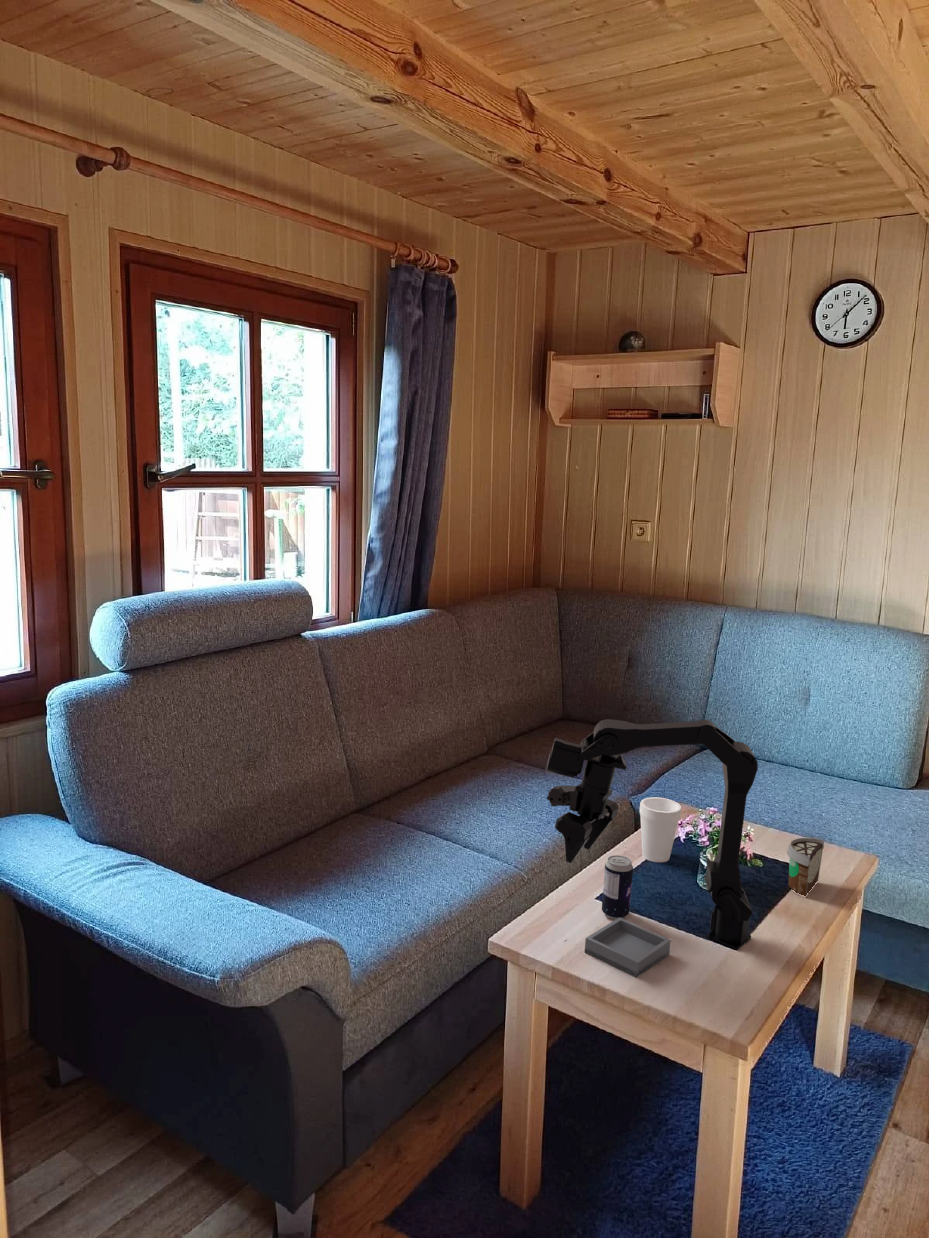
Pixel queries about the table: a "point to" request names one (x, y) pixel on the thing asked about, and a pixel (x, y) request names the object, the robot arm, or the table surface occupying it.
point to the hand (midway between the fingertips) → (577, 855)
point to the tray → (627, 947)
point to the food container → (804, 863)
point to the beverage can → (617, 887)
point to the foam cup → (658, 827)
